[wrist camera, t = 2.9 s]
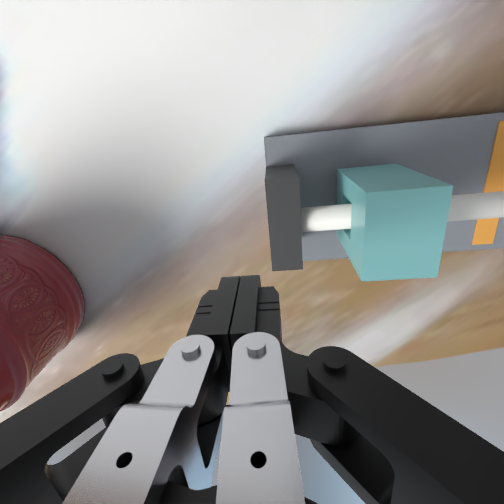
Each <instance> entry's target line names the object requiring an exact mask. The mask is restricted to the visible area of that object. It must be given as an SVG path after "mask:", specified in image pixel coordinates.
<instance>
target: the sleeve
mask: <svg viewBox="0 0 504 504" xmlns="http://www.w3.org/2000/svg"><path fill="white" fill-rule="evenodd" d="M452 191H453V185H451V184H449V183H446V182H443V181H441V180H438V179H435V178H433V177H430V176H428V175H425V174H422V173H420V172H417V171H414V170H412V169H409V168H406V167H404V166H401V165H398V164H385V165H374V166H364V167H353V168H342V169H337V205H340V204H352V208H351V229H339V230H336V235H337V237H338V239H339V241H340V243H341V244H342V246H343V248H344V250H345V252H346V254H347V255H348V257H349V259H350V261H351V263H352V265H353V266H354V268H355V270H356V272H357V274H358V276H359V277H360V279H361V281H378V280H396V279H413V278H431V277H437V276H438V270H439V265H440V259H441V253H442V248H443V242H444V236H445V230H446V225H447V219H448V213H449V208H450V202H451V196H452Z"/></svg>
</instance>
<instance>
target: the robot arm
mask: <svg viewBox="0 0 504 504" xmlns="http://www.w3.org/2000/svg"><path fill="white" fill-rule="evenodd" d="M228 392H230V396H229V405H226V402H227V396H228ZM101 418H102V419H103V421H104V424H105V426H106V428H104V429H103V430H102V431H101V432H99V433H98V434H97V435H95V436H94V437H93V438H91V439H90V440H89V441H87V442H86V443H85V444H83V445H82V446H81V447H80V448H78V449H77V450H76V451H75V452H73V453H72V454H71V455H69V456H68V457H67V458H65V459H64V460H63V461H61V462H59V463H57V464H54V465H47V464H46V463H47V461H48V460H49V458H50V457H51V456H52V455H53V454H54V453H55V452H56V451H58V450H59V449H61V448H62V447H63V446H65V445H66V444H67V443H69V442H70V441H71V440H73V439H74V438H75V437H77V436H78V435H80V434H81V433H82V432H84V431H85V430H86V429H88V428H89V427H90V426H92V425H93V424H94V423H96V422H97V421H99V420H100V419H101ZM295 434H297V435H300V436H303V437H306V438H309V439H310V440H311V442H312V444H313V446H314V448H315V449H316V450H317V451H318V452H319V453H320V455H321V456H322V457H323V458H324V459H325V460H326V461H327V462H328V463H329V464H330V465H331V467H332V468H333V469H334V470H335V471H336V472H337V473H338V474H339V475H340V476H341V477H342V479H343V480H344V481H345V482H346V483H347V484H348V485H349V486H350V487H351V488H352V489H353V490H354V491H355V493H357V495H358V496H359V497H360V498H361V499H362V500H363V501H364V502H365V504H504V452H503V451H501V450H500V449H498V448H497V447H495V446H494V445H492V444H491V443H489V442H488V441H486V440H485V439H483V438H482V437H480V436H479V435H477V434H476V433H474V432H472V431H471V430H469V429H468V428H466V427H465V426H463V425H462V424H460V423H459V422H457V421H456V420H454V419H453V418H451V417H449V416H448V415H446V414H445V413H443V412H442V411H440V410H439V409H437V408H436V407H434V406H432V405H431V404H430V403H428V402H427V401H425V400H423V399H422V398H420V397H419V396H417V395H416V394H414V393H412V392H411V391H410V390H408V389H407V388H405V387H404V386H402V385H401V384H399V383H398V382H396V381H394V380H393V379H391V378H390V377H388V376H387V375H385V374H384V373H382V372H381V371H379V370H378V369H376V368H375V367H373V366H372V365H370V364H369V363H367V362H365V361H364V360H362V359H361V358H359V357H358V356H356V355H355V354H353V353H352V352H350V351H348V350H346V349H344V348H340V347H335V346H327V347H322V348H319V349H317V350H315V351H313V352H312V353H311V354H310V355H309V356H304V355H300V354H297V353H294V352H292V351H290V350H289V349H287V348H286V347H285V346H284V345H283V343H282V333H281V317H280V304H279V293H278V292H277V291H276V289H275V288H274V287H273V286H272V287H261V282H260V276H259V275H250V276H241V277H240V276H235V277H222V278H221V281H220V284H219V287H218V290H209V291H208V292H207V293H206V294H205V295H204V296H203V297H202V298H201V300H200V303H199V305H198V308H197V310H196V314H195V315H194V318H193V320H192V323H191V325H190V328H189V330H188V333H187V336H186V337H184V338H182V339H180V340H178V341H177V342H175V343H174V344H173V345H172V346H171V347H170V349H169V351H168V352H167V354H166V356H165V358H163V359H160V360H157V361H153V362H150V363H146V364H143V365H140V362H139V359H138V358H137V357H136V356H135V355H133V354H128V353H124V354H118V355H114V356H111V357H109V358H107V359H105V360H103V361H102V362H100V363H98V364H97V365H95V366H93V367H92V368H90V369H88V370H87V371H85V372H84V373H82V374H80V375H79V376H77V377H75V378H74V379H72V380H70V381H69V382H67V383H66V384H64V385H62V386H61V387H59V388H57V389H56V390H54V391H52V392H51V393H49V394H47V395H46V396H44V397H43V398H41V399H39V400H38V401H36V402H34V403H33V404H31V405H29V406H28V407H26V408H25V409H23V410H21V411H20V412H18V413H16V414H15V415H13V416H11V417H10V418H8V419H6V420H5V421H3V422H2V423H0V504H317V503H316V502H314V501H312V500H310V499H308V498H306V497H304V492H303V485H302V479H301V472H300V467H299V459H298V453H297V446H296V440H295ZM220 442H221V447H220V459H219V471H218V483H217V485H216V486H213V487H212V477H213V472H214V467H215V463H216V459H217V455H218V450H219V446H220Z"/></svg>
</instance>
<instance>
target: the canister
mask: <svg viewBox="0 0 504 504" xmlns="http://www.w3.org/2000/svg"><path fill="white" fill-rule="evenodd" d="M84 312H85V304H84V298H83V295H82V292H81V289H80V287H79V285H78V283H77V281H76V279H75V278H74V276H73V275H72V274H71V272H70V271H69V270H68V269H67V268H66V266H65V265H64V264H63V263H62V262H61V261H59V260H58V259H57V258H56V257H55V256H53V255H52V254H51V253H49V252H48V251H46V250H45V249H43V248H41V247H40V246H38V245H36V244H34V243H31V242H29V241H26V240H23V239H20V238H17V237H12V236H5V235H0V411H2V410H5V409H7V408H8V407H10V406H11V405H13V404H14V403H15V402H16V401H17V400H18V399H19V398H20V397H21V395H22V394H23V392H24V390H25V388H26V387H27V386H28V385H29V384H30V383H31V382H32V380H33V379H34V378H35V377H36V376H37V375H38V374H39V373H40V372H41V371H42V369H43V368H44V367H45V366H46V365H47V364H48V363H49V362H50V361H51V359H52V358H53V357H54V356H55V355H56V354H57V353H59V352H60V351H62V350H63V349H64V348H65V347H66V346H67V345H68V343H69V342H70V341H71V340H72V339H73V338H74V336H75V335H76V333H77V330H78V328H79V327H80V325H81V323H82V321H83V317H84Z"/></svg>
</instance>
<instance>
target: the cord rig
mask: <svg viewBox="0 0 504 504" xmlns="http://www.w3.org/2000/svg"><path fill="white" fill-rule="evenodd" d="M264 144H265V156H266V175H265V188H266V200H267V211H268V223H269V235H270V247H271V259H272V271H282V270H298V269H303V261H311V260H326V259H341V258H349V257H348V255H347V254H346V252H345V250H344V248H343V246H342V244H341V243H340V241H339V239H338V237H337V235H336V230H339V229H351V208H352V204H340V205H337V169H342V168H353V167H364V166H374V165H385V164H398V165H401V166H404V167H406V168H409V169H412V170H414V171H417V172H420V173H422V174H425V175H428V176H430V177H433V178H435V179H438V180H441V181H443V182H446V183H449V184H451V185H453V191H452V196H451V202H450V208H449V213H448V219H447V225H446V230H445V236H444V242H443V248H442V252H450V251H465V250H480V249H496V248H504V112H497V113H488V114H479V115H469V116H460V117H450V118H441V119H432V120H422V121H413V122H403V123H394V124H385V125H375V126H366V127H356V128H347V129H337V130H328V131H319V132H309V133H300V134H290V135H281V136H272V137H264Z"/></svg>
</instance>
